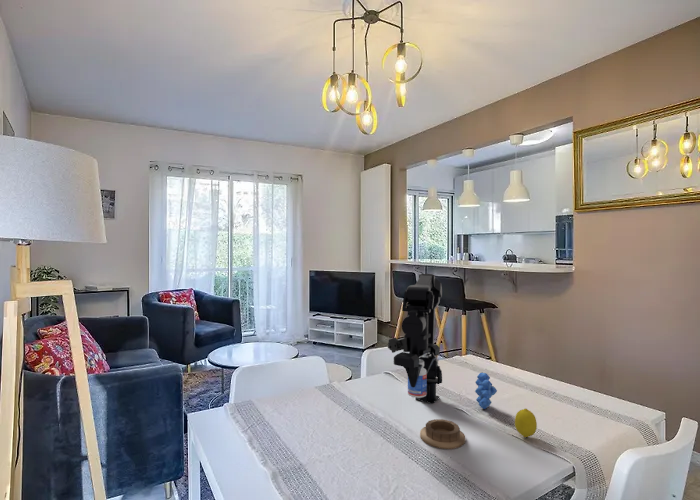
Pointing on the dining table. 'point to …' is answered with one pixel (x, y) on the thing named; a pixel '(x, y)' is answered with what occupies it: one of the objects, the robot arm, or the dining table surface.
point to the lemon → (525, 423)
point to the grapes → (484, 390)
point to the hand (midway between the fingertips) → (417, 384)
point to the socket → (442, 434)
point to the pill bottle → (419, 384)
